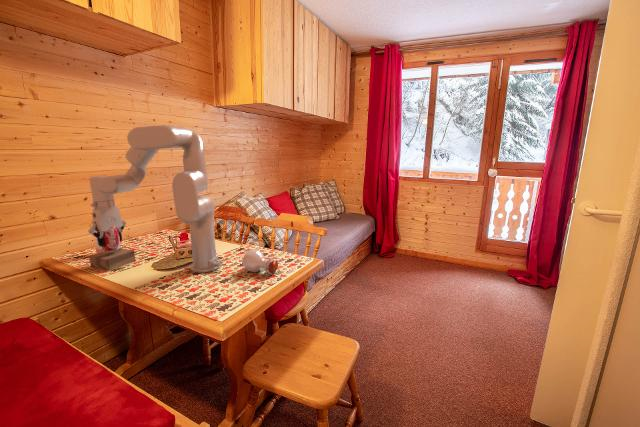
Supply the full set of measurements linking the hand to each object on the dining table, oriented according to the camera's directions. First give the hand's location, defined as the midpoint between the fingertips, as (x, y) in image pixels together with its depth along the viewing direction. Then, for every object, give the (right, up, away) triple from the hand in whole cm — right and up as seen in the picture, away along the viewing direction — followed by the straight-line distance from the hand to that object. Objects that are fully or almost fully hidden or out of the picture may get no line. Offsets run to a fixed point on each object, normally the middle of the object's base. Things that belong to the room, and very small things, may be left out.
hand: (110, 243), depth 133 cm
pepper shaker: (-13, -7, +15) cm, 21 cm away
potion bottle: (+68, -11, -7) cm, 69 cm away
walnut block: (0, -9, +2) cm, 10 cm away
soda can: (0, -3, +1) cm, 3 cm away
